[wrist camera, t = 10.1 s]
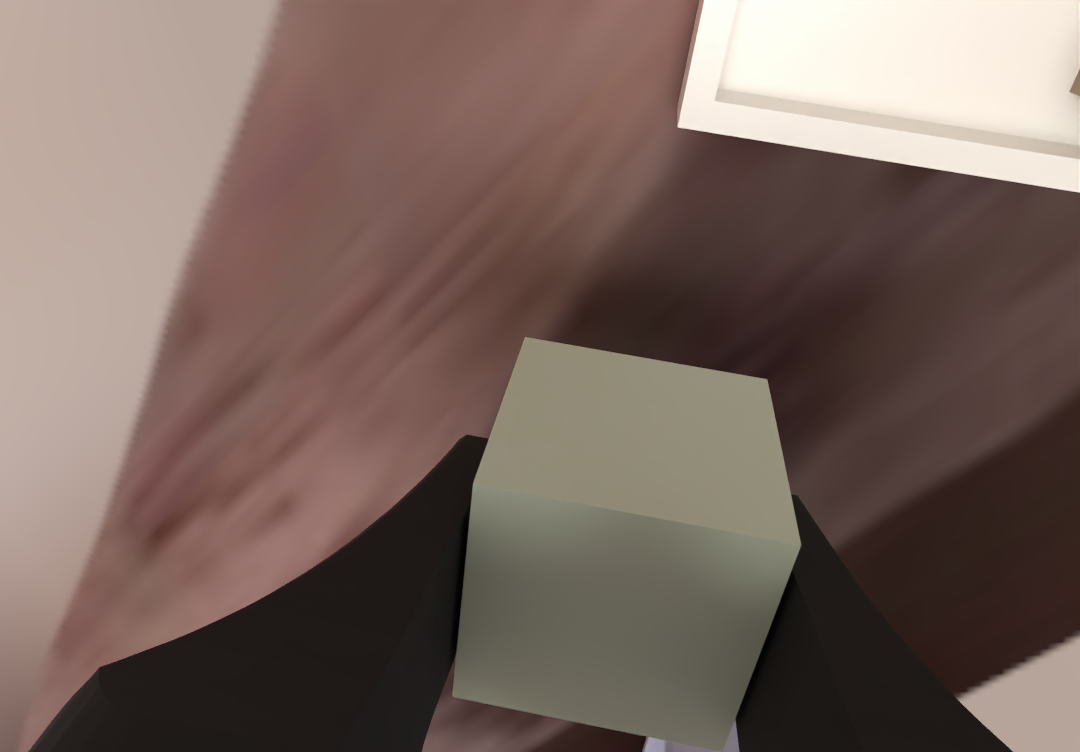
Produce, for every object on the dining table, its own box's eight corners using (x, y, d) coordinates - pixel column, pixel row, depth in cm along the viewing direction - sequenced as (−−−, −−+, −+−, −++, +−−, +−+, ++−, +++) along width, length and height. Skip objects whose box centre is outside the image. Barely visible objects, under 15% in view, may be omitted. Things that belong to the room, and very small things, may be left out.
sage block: (711, 561, 15) (722, 752, 12) (501, 521, 15) (452, 696, 12) (767, 379, 13) (802, 544, 10) (525, 336, 13) (472, 483, 10)
